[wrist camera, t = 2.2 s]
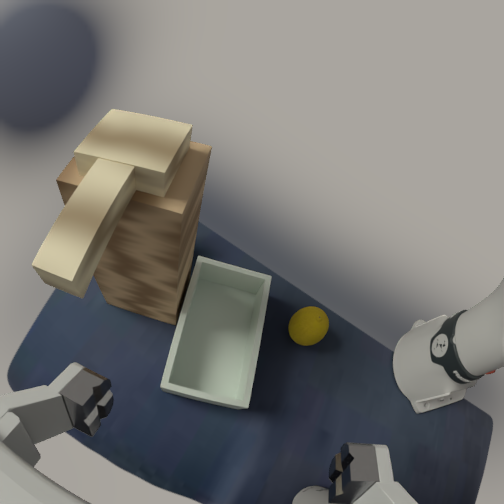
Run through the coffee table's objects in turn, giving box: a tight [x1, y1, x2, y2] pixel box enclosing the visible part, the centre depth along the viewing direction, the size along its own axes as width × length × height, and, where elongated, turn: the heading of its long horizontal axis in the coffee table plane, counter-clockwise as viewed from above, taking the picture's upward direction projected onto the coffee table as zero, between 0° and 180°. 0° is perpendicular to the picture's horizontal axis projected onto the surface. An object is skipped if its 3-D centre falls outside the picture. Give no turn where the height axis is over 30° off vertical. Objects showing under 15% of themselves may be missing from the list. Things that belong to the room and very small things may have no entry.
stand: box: [56, 141, 212, 325], centre depth 33 cm, size 11×8×26 cm
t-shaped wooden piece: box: [32, 109, 193, 298], centre depth 19 cm, size 15×8×2 cm, turn 170°
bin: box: [160, 256, 272, 409], centre depth 40 cm, size 11×19×6 cm, turn 170°
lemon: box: [288, 306, 329, 346], centre depth 43 cm, size 6×6×8 cm
